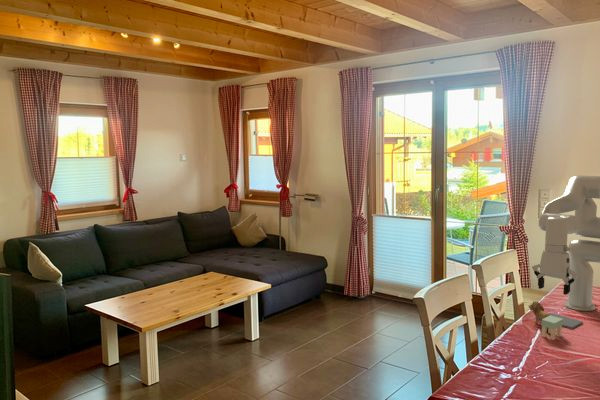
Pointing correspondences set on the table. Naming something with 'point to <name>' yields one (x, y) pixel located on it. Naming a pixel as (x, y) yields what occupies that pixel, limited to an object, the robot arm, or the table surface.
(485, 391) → the table surface
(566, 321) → the charcoal mat
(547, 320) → the sage stool
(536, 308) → the lion figurine
